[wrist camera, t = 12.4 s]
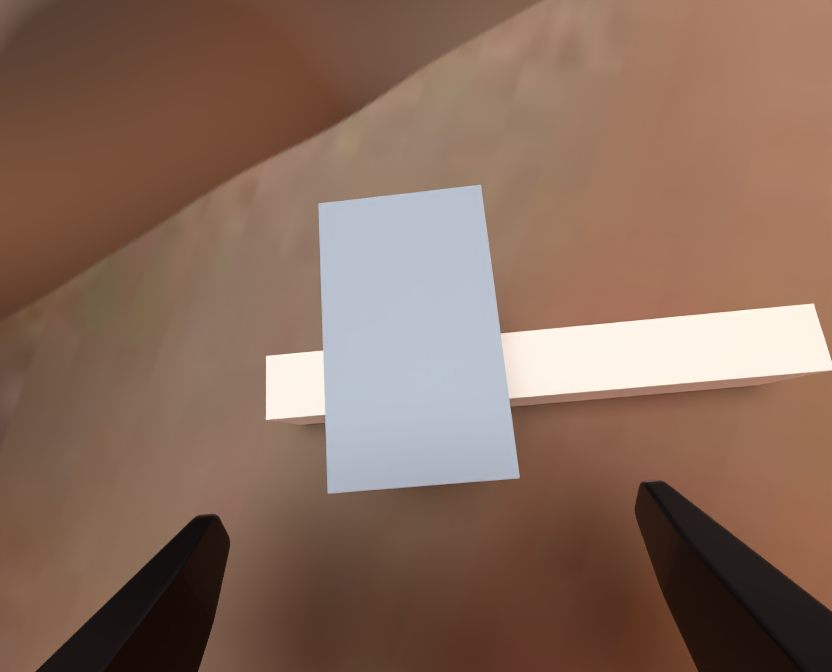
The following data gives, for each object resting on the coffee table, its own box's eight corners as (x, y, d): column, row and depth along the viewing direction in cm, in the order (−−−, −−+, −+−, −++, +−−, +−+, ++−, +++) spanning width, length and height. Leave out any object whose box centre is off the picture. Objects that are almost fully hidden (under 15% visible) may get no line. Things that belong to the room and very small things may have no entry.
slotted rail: (756, 385, 19) (834, 370, 15) (301, 424, 20) (266, 419, 16) (742, 331, 20) (813, 303, 16) (300, 372, 21) (266, 356, 17)
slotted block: (483, 460, 19) (520, 478, 9) (392, 468, 19) (327, 493, 9) (466, 311, 21) (480, 184, 11) (382, 320, 21) (318, 203, 11)
